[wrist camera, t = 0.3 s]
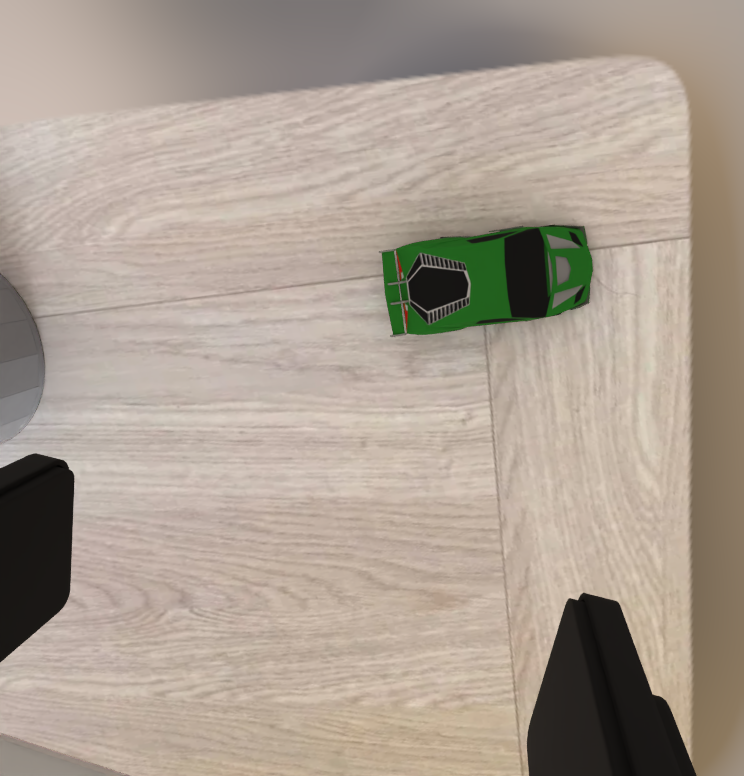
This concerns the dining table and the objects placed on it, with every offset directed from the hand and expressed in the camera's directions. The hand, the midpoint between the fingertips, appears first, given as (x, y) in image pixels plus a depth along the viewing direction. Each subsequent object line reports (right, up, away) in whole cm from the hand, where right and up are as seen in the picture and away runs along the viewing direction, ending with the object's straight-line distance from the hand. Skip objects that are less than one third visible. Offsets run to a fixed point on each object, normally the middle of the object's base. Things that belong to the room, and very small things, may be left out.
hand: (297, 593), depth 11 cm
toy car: (+7, +9, +20) cm, 23 cm away
